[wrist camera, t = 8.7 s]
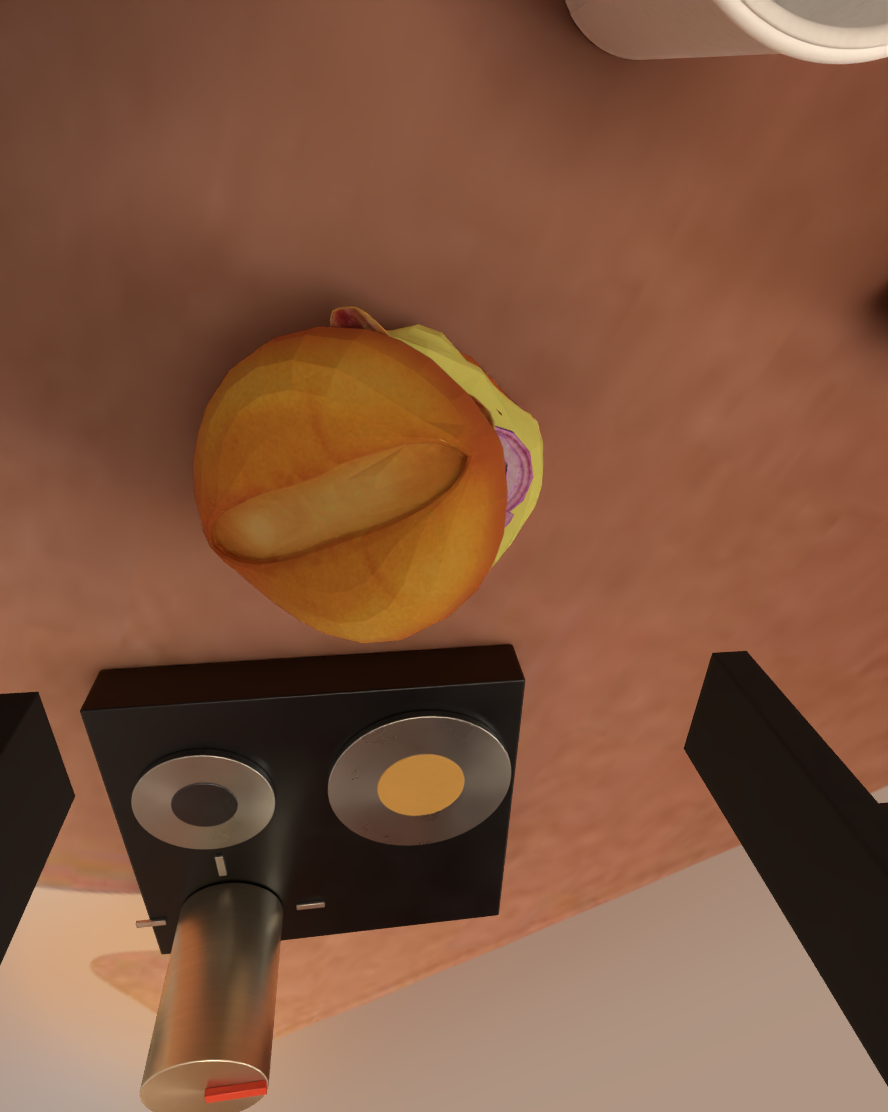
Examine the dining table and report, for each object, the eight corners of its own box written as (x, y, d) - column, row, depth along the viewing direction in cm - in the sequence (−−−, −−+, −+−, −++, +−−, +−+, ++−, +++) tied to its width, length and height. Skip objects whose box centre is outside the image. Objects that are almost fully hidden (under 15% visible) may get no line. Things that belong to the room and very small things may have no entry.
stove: (84, 670, 27) (61, 714, 25) (512, 643, 30) (526, 682, 28) (166, 927, 37) (154, 977, 34) (488, 891, 39) (497, 935, 37)
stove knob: (189, 947, 34) (151, 1137, 27) (171, 888, 31) (124, 1080, 25) (287, 935, 34) (274, 1118, 28) (277, 877, 32) (259, 1061, 25)
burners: (113, 733, 26) (109, 741, 26) (516, 703, 28) (519, 710, 28) (153, 864, 30) (151, 873, 30) (503, 829, 32) (504, 837, 32)
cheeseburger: (438, 615, 28) (408, 774, 19) (223, 478, 27) (77, 580, 17) (586, 425, 25) (637, 509, 15) (347, 252, 23) (246, 231, 14)
